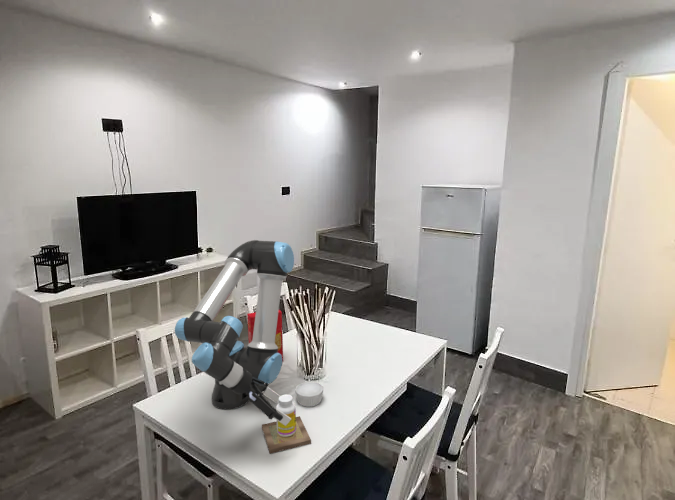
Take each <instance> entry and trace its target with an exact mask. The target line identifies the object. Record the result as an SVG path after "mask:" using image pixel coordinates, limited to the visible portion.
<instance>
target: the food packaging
mask: <svg viewBox="0 0 675 500" xmlns="http://www.w3.org/2000/svg"><path fill="white" fill-rule="evenodd" d="M255 316H256V311H255V312H249V313H247V334H248V335H247V337H248V344H249V343H251V342H252V339H253V331H254V324H255ZM283 337H284V335H283V312H282V311H281V309H279V311H278V320H277V328H276V336H275V344H276V345H277V347H278V353H280V354H281V355H282V363H284V341H283Z"/></svg>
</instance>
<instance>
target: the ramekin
mask: <svg viewBox="0 0 675 500" xmlns="http://www.w3.org/2000/svg"><path fill="white" fill-rule="evenodd" d="M294 392H295V396H296V400H297V402H298V403H299V405H301V406H304V407H309V408H311V407H315V406H317V405H318V404H320V403H321V402H322V399H323V393H324V386H323V385H322V384H321V383H319V382H317V381H304V382H301V383H299V384H298V385H296V387H295V391H294Z"/></svg>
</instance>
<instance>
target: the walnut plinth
mask: <svg viewBox="0 0 675 500" xmlns="http://www.w3.org/2000/svg"><path fill="white" fill-rule="evenodd" d="M261 430H262V434H263V436H264V439H265V442H266V445H267V449H268V453H269V454H275V453H278V452H283V451H287V450H291V449H294V448H296V449H297V448H298V447H299V448H300V447H303V446H307V445H311V444H312V439H311V437H310V435H309V433H308V431H307V428H306V426H305V425H304V422H303V420H302V417H301V416H296V432H295V433H294V434H293V435H291V436H288V437H282V436H280V435H279V434H278V433H277V420H276V421H272V422H267V423H263V424H261Z"/></svg>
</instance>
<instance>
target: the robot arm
mask: <svg viewBox="0 0 675 500" xmlns="http://www.w3.org/2000/svg"><path fill="white" fill-rule="evenodd" d="M294 265H295V254H294V251H293V249H292V247H291V245H290V244H289V243H288V242H283V241H272V240H257V239H254V240H249V241H246V242H244V243H242V244H241V245H238V246H237V247H236V248H235V249H234V250H233V251H231V253H230V254H228V256H227V258H226V259H225V261H224V267H223V268H222V270H221V271H220V272H219V274H218V275H217V277H216V278H215V279H214V281H213V283H212V284H211V285H210V287H209V289H208V290H207V291H206V293H205V294H204V296H203V297H202V298H201V300H200V301H199V302H198V304H197V306H196V307H195V309H194V310H193V312H192V313H191V314H190V315H189V317H181V318H179V319H178V321H177V322H176V323H175V327H174V335H175V336H176V338H178V339H179V340H182V341H186V342H192V343H198V344H200V345H199V346H198V347H197V348H196V350H195V351H194V353H193V354H192V357H191V363H192V364H193V366H194V367H196V368H197V369H199V370H200V371H201V372H203V373H205V374H206V375H208V376H209V377H211V378H213V379H214V382H215V383H214V386H213V389H212V393H211V404H212V405H213V406H214V407H215V408H217V409H220V410H233V409H237V408H240V407H242V406H245V405H246V404H248V402H250V403H252V404H253V405H254V406H256V408H258V409H259V410H260V411H261V412H262V413H263V414H264V415H265V416H266V417H267V419H269V420H272V419H274V420H276V421H277V420H278V421H279V422H281V423H282V424H284V425H285V426H286V425H287V424H288V423H289V421H290V420H291V418H290V417H288V416H287V415H285V414H284V413H282V412H281V411H280V410H278V409H277V408H276V407H275V406H273V405H272V403H270V401H268V400H267V399H266V397H267V398H268V399H269V400H271V401H272V402H274V403H276V404H278V403H279V397H280V396H281V395H280V394H278V393H277V392H276V391H274V390H273V389H272V388H270V387H269V384H271V383H273V382H275V380H276V379H277V378H278V377H279V375H280V372H281V369H282V366H283V362H282V355H281V354H280V353H278V347H277V345H276V344H275V336H276V328H277V320H278V311H279V310H280V302H281V293H282V283H283V281H284V280H285V279H287V277H288V274H289V273H291V272H292V271H293V268H294ZM251 270H256V271H257V272H256V275H257V276H258V278H259V285H258V292H257V302H256V309H255V312H256V316H255V324H254V331H253V339H252V342H251V343H249V342H248V344H247V347H245V343H243V341H240V340H239V339H240V336H241V333H242V331H243V328H244V327H243V326H244V325H243V323H242V321H241V320H240V319H239V318H237V317H235V316H232V315H226V316H224V317H223V318H222V319H221V321H215V319H216V318H217V317H218V314H219V313H220V312H221V310H222V308H223V307H224V305H225V303H226V302H227V301H228V299H229V297H230V295H231V294H232V292H233V291H234V289H235V287H236V286H237V285H238V283H239V282H240V280H241V278H242V277H245V276H246V275H247V274H248V272H249V271H251ZM264 396H265V397H264Z"/></svg>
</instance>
